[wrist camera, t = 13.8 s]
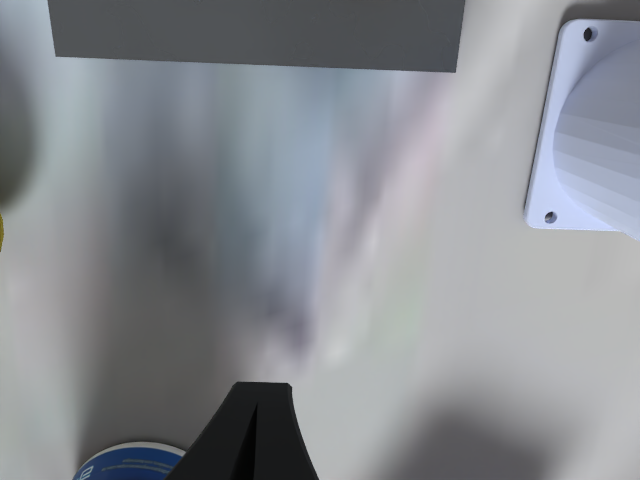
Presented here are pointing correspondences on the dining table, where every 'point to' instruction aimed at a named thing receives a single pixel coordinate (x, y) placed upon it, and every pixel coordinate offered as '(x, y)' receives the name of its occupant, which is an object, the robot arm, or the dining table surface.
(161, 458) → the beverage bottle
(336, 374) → the dining table surface
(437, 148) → the dining table surface
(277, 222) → the dining table surface
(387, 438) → the dining table surface
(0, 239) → the lemon
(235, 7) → the console
